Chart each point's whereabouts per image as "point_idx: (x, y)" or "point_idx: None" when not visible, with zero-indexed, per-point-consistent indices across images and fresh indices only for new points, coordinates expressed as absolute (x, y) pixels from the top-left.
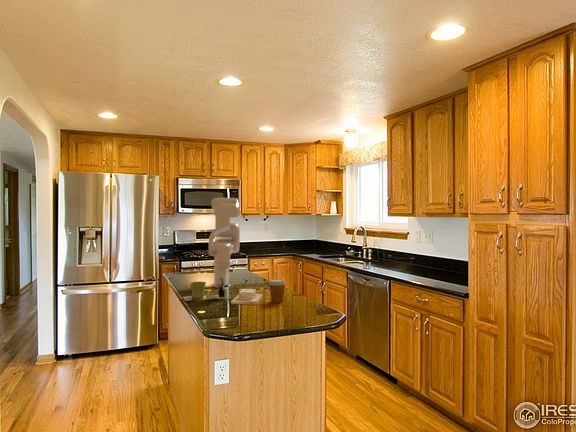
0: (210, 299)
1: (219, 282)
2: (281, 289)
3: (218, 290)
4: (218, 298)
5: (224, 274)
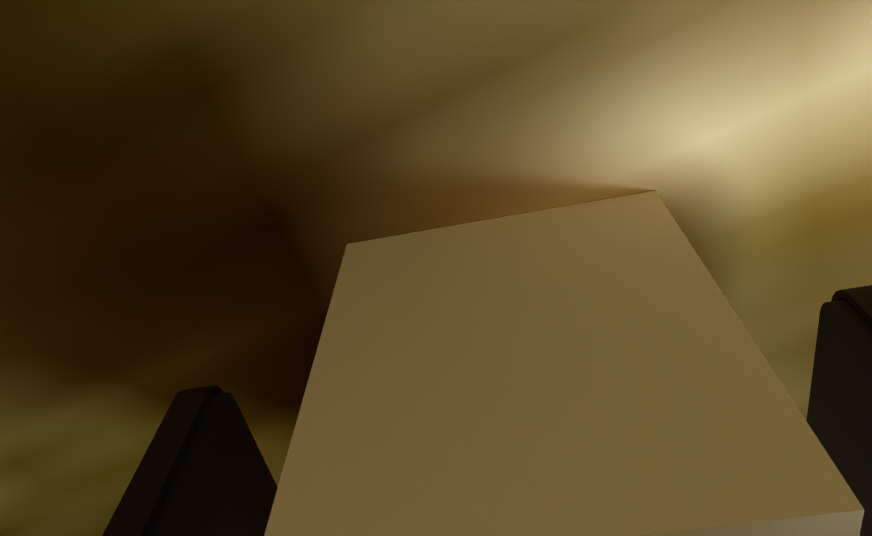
0: (131, 25)
1: None
2: None
3: (287, 491)
4: (345, 264)
5: None
